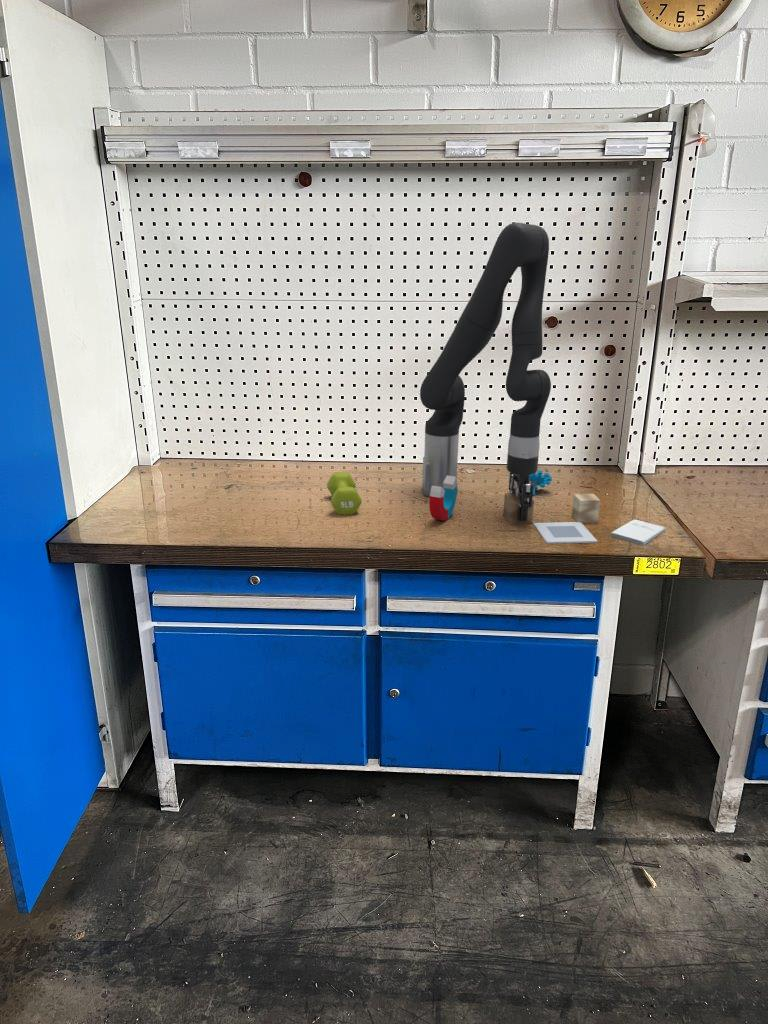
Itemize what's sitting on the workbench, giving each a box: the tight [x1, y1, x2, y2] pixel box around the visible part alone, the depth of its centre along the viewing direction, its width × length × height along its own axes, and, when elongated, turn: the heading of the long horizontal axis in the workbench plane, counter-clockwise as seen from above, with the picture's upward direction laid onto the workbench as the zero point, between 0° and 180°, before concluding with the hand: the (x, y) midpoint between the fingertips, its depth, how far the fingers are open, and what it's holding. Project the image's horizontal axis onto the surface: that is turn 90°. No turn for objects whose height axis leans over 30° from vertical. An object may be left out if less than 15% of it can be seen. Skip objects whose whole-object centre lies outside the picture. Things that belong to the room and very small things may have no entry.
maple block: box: [571, 493, 601, 524], centre depth 175 cm, size 5×5×6 cm
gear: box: [529, 469, 553, 497], centre depth 194 cm, size 11×6×10 cm
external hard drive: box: [610, 519, 666, 546], centre depth 167 cm, size 2×8×12 cm
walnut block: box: [502, 492, 535, 524], centre depth 175 cm, size 6×6×6 cm
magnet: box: [428, 475, 458, 522], centre depth 174 cm, size 12×3×10 cm, turn 152°
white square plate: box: [532, 521, 599, 545], centre depth 167 cm, size 12×12×1 cm
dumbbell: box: [326, 471, 363, 516], centre depth 183 cm, size 16×8×7 cm, turn 8°
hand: (518, 515), depth 176 cm, fingers open, 7 cm apart
